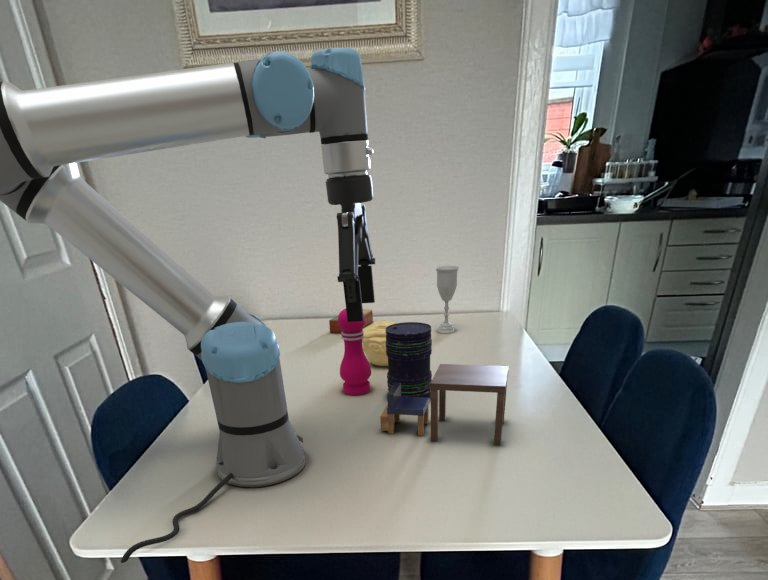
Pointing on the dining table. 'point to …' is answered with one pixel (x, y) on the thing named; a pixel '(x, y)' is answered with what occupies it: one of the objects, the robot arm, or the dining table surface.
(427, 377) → the dark blue barrel
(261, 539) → the dining table surface
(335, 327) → the carton
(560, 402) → the dining table surface
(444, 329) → the chalice
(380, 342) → the sculpture
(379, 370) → the dining table surface
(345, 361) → the pepper mill
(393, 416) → the blue toy chair
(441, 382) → the little table
